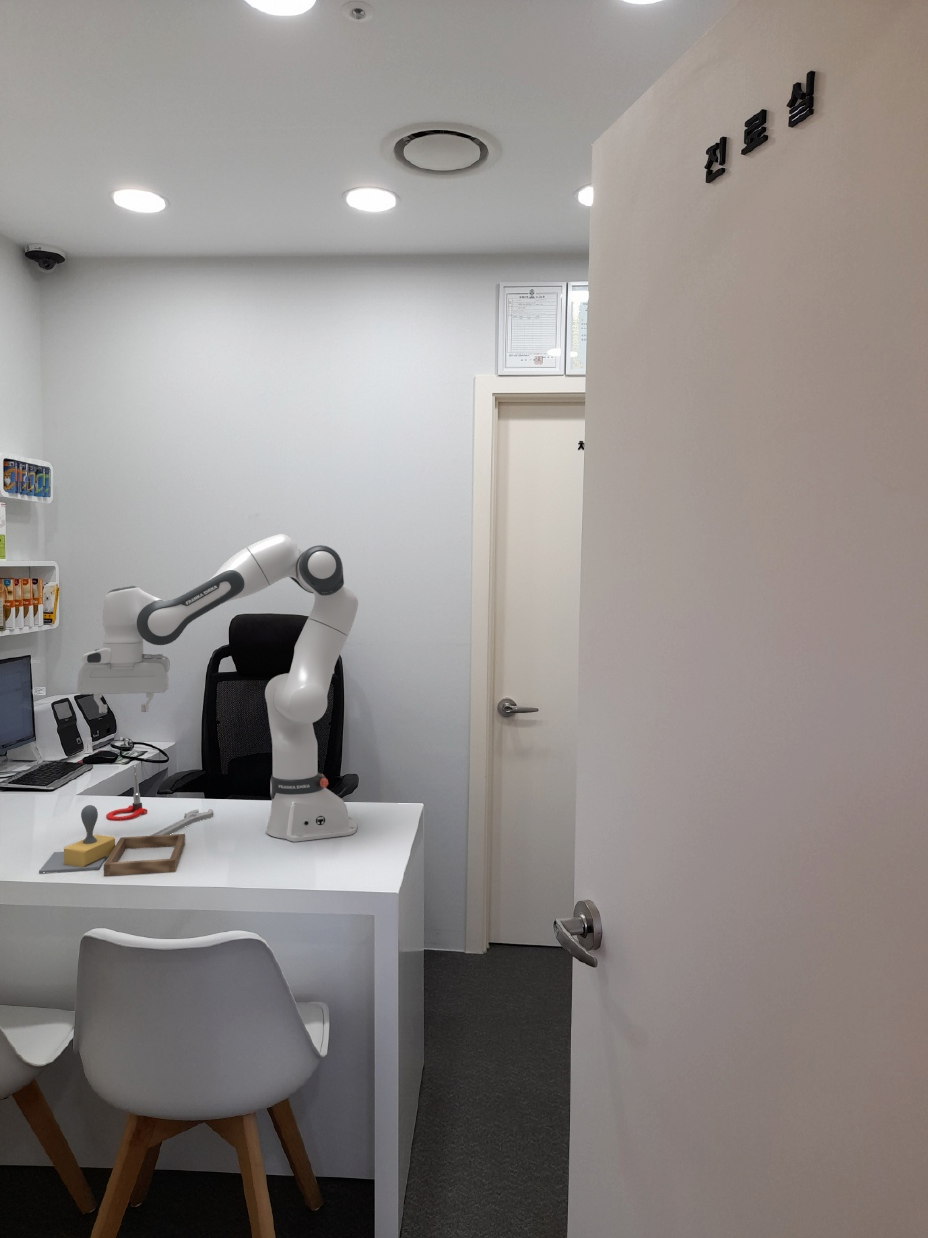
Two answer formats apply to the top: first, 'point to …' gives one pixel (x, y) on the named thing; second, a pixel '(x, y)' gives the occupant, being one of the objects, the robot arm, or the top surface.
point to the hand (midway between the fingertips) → (124, 712)
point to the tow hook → (135, 806)
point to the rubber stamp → (89, 842)
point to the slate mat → (57, 865)
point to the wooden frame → (144, 866)
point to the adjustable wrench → (185, 821)
